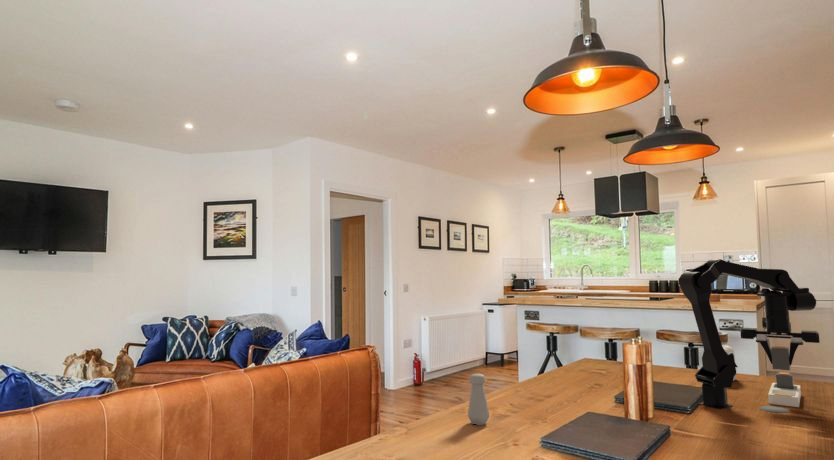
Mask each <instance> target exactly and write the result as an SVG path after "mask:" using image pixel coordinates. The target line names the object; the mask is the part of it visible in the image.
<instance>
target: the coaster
mask: <svg viewBox="0 0 834 460" xmlns="http://www.w3.org/2000/svg"><path fill="white" fill-rule="evenodd" d="M758 408H759V410H760V411H763V412H766V413H772V414H789V413H791V411H790V410H789V409H787V408H784V407H779V406H773V405H772V406H771V405H770V406H769V405H763V406H759V407H758Z"/></svg>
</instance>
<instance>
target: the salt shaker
mask: <svg viewBox="0 0 834 460" xmlns="http://www.w3.org/2000/svg"><path fill="white" fill-rule="evenodd" d="M468 378H469V379H468V380H469V383H470V384H471V387H470V388H471V389H470V394H469V403H468V411H467V416H468V419H469V421H470V423H471V424H477V425H481V426H484V425H483V424H485V425H486V424H487V423H488V420H489V418H490V411H489V406H488V400H487V396H486V392H485V386H484V384H485V382H486V377H485V375H484V374H482V373H472V374H470V375H469V377H468ZM486 422H487V423H486ZM477 425H476V426H477Z"/></svg>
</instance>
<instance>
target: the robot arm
mask: <svg viewBox="0 0 834 460" xmlns="http://www.w3.org/2000/svg"><path fill="white" fill-rule="evenodd" d="M721 275H725V276H729V277H734V278H738V279H742V280H747V281H751V282H752V283H754V284H755V285H757V286H760V287H762V288H761V290H760V291H758V292H757V293H756V297H763V301H764V310H765V311H764V312H765V317H762V318H761V326H762V328H763V329H766V330H758V328H756V327H744V328H742V329H741V330H740V339H743V340H744V339H745V340H754V339H755V342H756V343H759V344H760V346H761V347H762V348H763V350H764V352H765V354H766V356H767V358H768V360H769V362H770V364H771V365H772V353H771V348H772V347H771V344H770V343H771V342H770V339H771V338H773V339H775V338H776V339H787V340H788V339H789V340H790V342H789V365H790V366H792V364H793V360H794V357H795V353H796V352H797V349H798V347H799V346H803V345H804V342H805V343H812V344H813V343H815V344H819V343H820V333H819V332H818V331H817V330H803V329H802V330H801V332H792V326H791V324H792V323H791V321H790V311H791V312H795V311H796V312H798V311H812V310H814V309H815V308H816V306H817V299H816V298H815V295H813V293H811V292H810V288H809V287H798V285H797V284H796V283H795V281H794V280H793V279H792V277H790V274H789V272H788V271H787V270H785V269H782V268H781V269H780V268H779V269H778V268H757V267H753V266H749V265H744V264H740V263H735V262H730V261H727V260H724V259H720V258H719V259H718V258H717V259H715V258H714V259H709V260H707V261H706V262H705V263H703V264H701V265H699V266H697V267H695V268H693V269H691V270H689V271H686V272H683V273H682V274H680V277H679V278H678V286H679V287H680V289H681V292H682V294H683V296H685V298H686V299H687V300H688V301H689V302H690V304H691V309H692V312H693V315H694V318H695V322H696V326H697V328H698V333H699V336H700V341H701V343H702V347H703V352H702V356H701V362H702V366H701V368H700V369H699V370H698V371H697V372H696V373H695V374H694V376H695V378H696V379H695V380H696V381H697V382H698V383H700V384H701V383H702V384H701V390H702V402H698V403H697V405H700V406H703V407H704V406H705V407H707V408H712V409H716V410H722V409H726V408H731V407H733V404H729V403H728V393H727V392H728V391H727V388H728V389H729V388H732V385H733V382H734V381H733V379H734V376H735V375H736V376H737V368H738V367H739V366H738V365H737V363H736V359H735V360H734V357H735V354H734V355H733V353H729V352H726V351H725V350H724V349H723V347H722V345H723V344H722V340H721V337H720V334H719V331H718V326H717V323H716V319H715V317H714V313H713V309H712V305H711V302H710V299H711V294H712V284H713V283H714V282H716V281H717V280H719V279H718V278H720V276H721Z"/></svg>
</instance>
